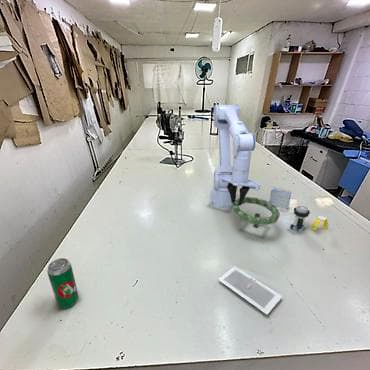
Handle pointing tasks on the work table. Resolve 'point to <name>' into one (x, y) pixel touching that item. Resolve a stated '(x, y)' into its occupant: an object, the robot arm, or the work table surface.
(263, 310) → the touchpad
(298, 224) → the push button
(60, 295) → the soda can
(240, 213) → the ring
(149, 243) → the work table surface
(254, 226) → the peg
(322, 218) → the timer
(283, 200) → the medicine box
